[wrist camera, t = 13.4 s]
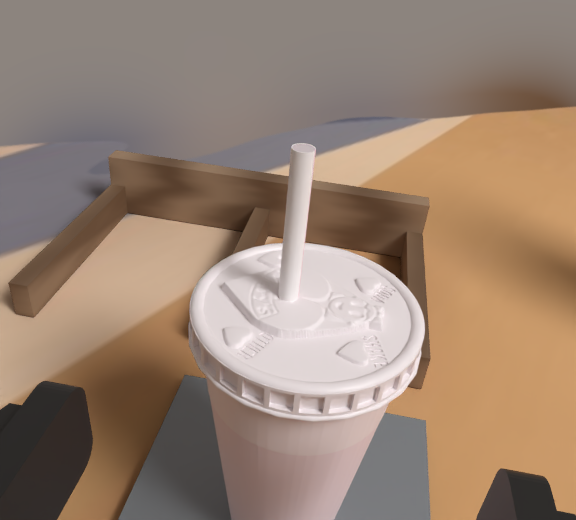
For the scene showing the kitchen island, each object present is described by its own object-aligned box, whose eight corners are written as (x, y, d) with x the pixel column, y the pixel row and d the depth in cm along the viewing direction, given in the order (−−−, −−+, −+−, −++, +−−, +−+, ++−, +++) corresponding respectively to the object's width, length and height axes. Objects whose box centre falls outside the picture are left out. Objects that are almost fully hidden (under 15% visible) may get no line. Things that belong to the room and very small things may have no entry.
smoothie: (225, 422, 23) (234, 91, 15) (376, 459, 22) (467, 127, 15) (163, 573, 18) (129, 187, 10) (357, 629, 17) (483, 252, 9)
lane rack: (15, 313, 29) (0, 249, 27) (120, 202, 40) (116, 150, 37) (421, 389, 27) (440, 325, 25) (415, 250, 38) (428, 197, 35)
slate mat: (66, 646, 17) (63, 637, 16) (185, 383, 26) (185, 374, 25) (435, 736, 16) (440, 729, 15) (422, 429, 25) (425, 420, 24)
